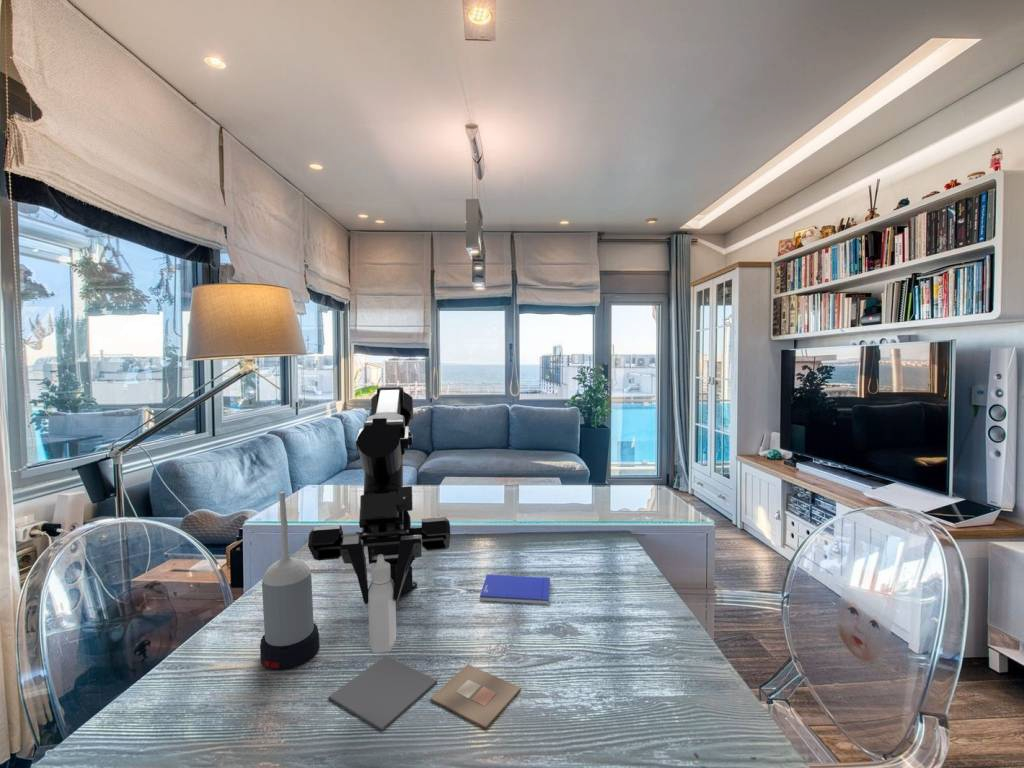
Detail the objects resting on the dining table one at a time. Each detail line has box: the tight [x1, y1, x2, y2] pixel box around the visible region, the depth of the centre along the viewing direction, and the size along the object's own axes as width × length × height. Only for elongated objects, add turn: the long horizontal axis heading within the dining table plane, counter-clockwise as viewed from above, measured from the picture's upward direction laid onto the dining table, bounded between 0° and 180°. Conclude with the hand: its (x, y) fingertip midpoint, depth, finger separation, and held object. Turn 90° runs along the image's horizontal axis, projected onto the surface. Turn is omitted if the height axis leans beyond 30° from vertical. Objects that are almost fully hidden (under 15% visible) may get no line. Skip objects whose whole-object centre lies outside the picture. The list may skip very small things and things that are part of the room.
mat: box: [328, 655, 438, 731], centre depth 67 cm, size 10×10×1 cm
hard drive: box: [479, 573, 551, 605], centre depth 93 cm, size 2×8×12 cm
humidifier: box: [259, 490, 320, 672], centre depth 74 cm, size 8×8×25 cm
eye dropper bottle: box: [367, 554, 397, 654], centre depth 66 cm, size 4×6×12 cm
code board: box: [429, 663, 522, 730], centre depth 66 cm, size 9×8×1 cm
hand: (381, 602), depth 64 cm, fingers closed on eye dropper bottle, 3 cm apart
